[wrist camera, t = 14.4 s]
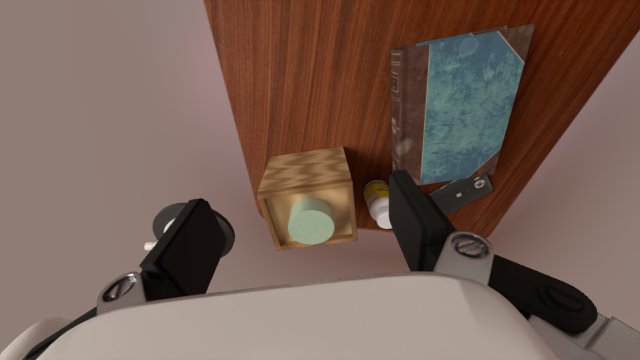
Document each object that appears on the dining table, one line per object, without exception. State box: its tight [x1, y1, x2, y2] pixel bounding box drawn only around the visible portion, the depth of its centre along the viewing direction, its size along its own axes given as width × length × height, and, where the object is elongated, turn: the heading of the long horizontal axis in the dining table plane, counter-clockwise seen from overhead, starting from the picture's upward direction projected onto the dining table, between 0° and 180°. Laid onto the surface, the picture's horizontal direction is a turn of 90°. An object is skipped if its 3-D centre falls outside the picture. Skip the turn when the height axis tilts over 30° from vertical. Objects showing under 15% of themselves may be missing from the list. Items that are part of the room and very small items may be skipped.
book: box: [391, 24, 535, 185], centre depth 38 cm, size 23×18×5 cm
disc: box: [288, 198, 335, 245], centre depth 35 cm, size 7×7×3 cm
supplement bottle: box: [363, 180, 392, 229], centre depth 44 cm, size 5×5×10 cm
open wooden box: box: [257, 146, 358, 250], centre depth 41 cm, size 14×12×13 cm
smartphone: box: [429, 175, 493, 215], centre depth 49 cm, size 8×15×1 cm, turn 129°
